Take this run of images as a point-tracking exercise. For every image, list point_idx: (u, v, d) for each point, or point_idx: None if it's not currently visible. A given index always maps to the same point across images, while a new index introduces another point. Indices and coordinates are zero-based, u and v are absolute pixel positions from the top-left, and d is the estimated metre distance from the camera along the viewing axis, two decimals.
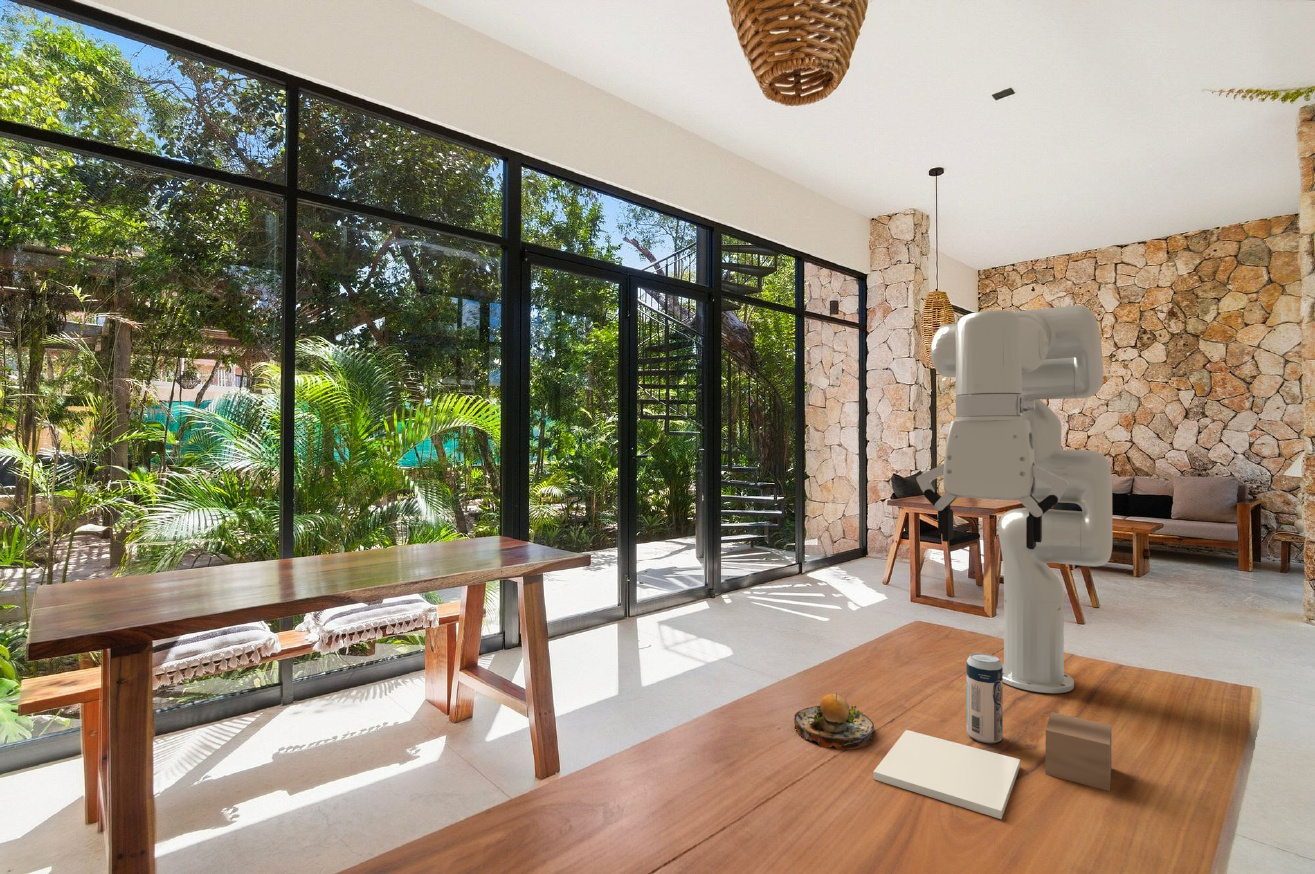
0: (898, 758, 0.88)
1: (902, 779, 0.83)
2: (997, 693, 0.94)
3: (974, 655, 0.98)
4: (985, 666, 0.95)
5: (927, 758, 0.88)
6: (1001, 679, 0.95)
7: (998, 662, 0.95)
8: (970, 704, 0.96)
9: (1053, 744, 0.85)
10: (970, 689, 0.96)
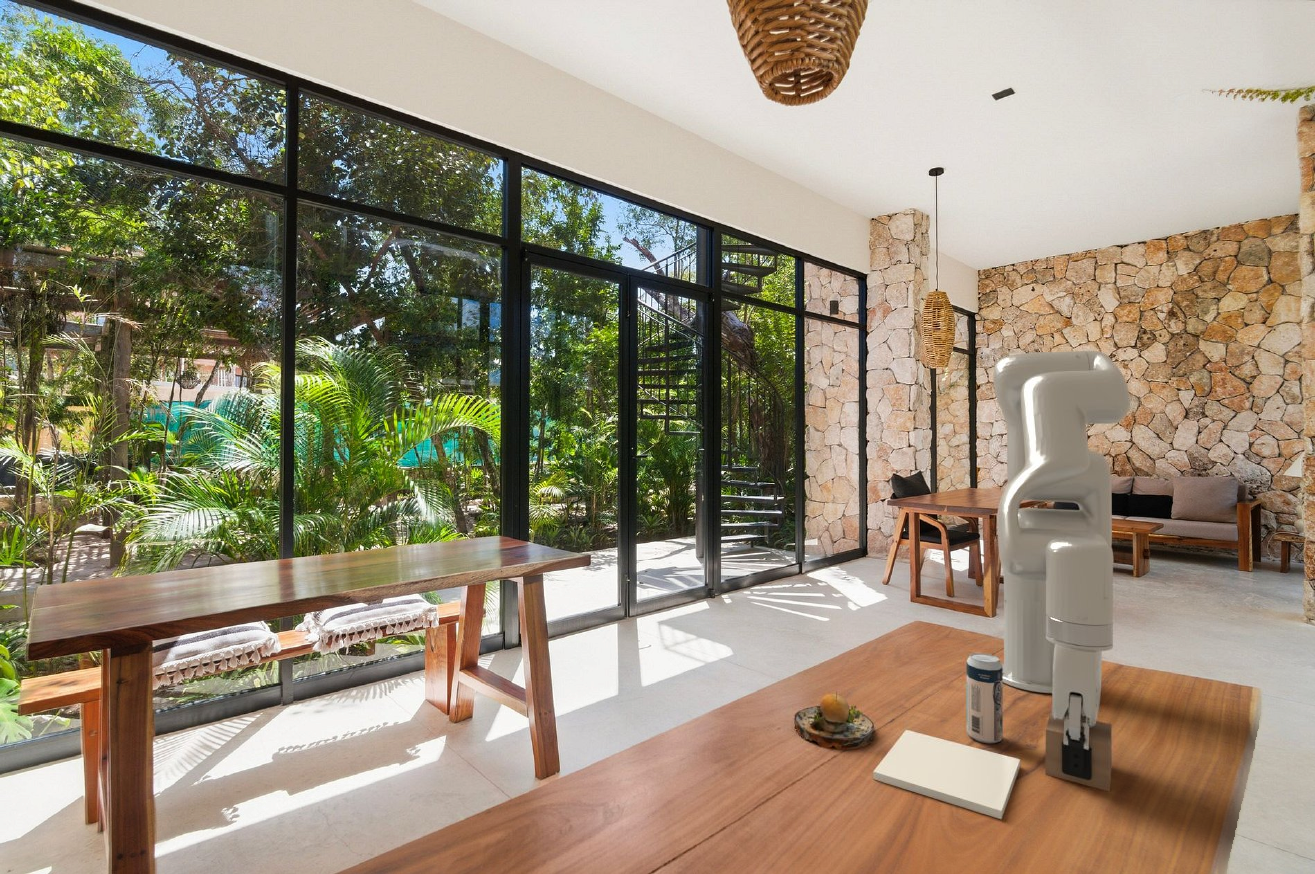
0: (898, 758, 0.88)
1: (902, 779, 0.83)
2: (997, 693, 0.94)
3: (974, 655, 0.98)
4: (985, 666, 0.94)
5: (927, 758, 0.88)
6: (1001, 679, 0.95)
7: (998, 662, 0.95)
8: (970, 704, 0.96)
9: (1053, 743, 0.85)
10: (970, 689, 0.96)
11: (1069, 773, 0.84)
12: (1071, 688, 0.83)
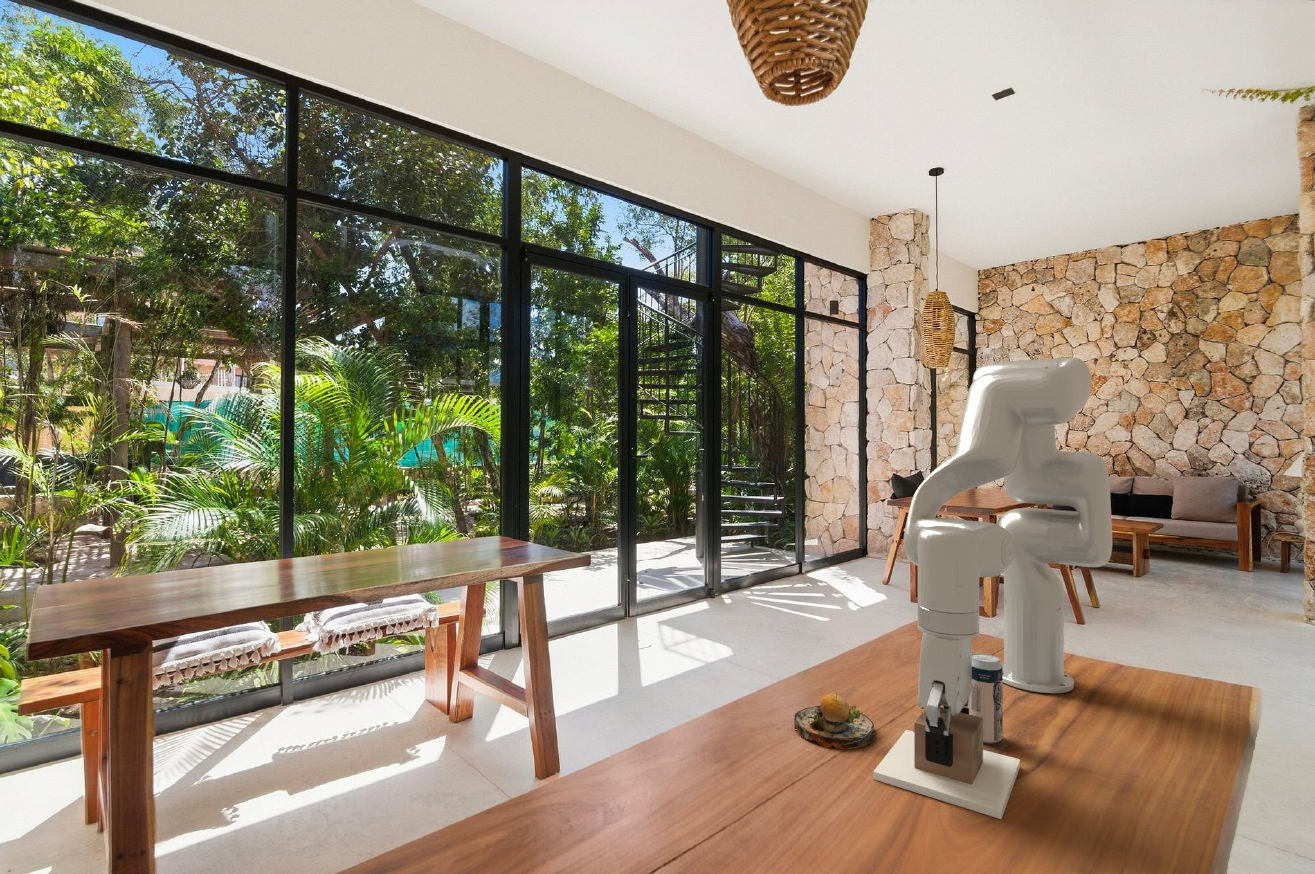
0: (898, 758, 0.88)
1: (902, 779, 0.83)
2: (997, 693, 0.94)
3: (974, 655, 0.98)
4: (985, 666, 0.94)
5: None
6: (1001, 679, 0.95)
7: (998, 662, 0.95)
8: (970, 704, 0.96)
9: (921, 737, 0.85)
10: None
11: (932, 760, 0.83)
12: (935, 674, 0.83)
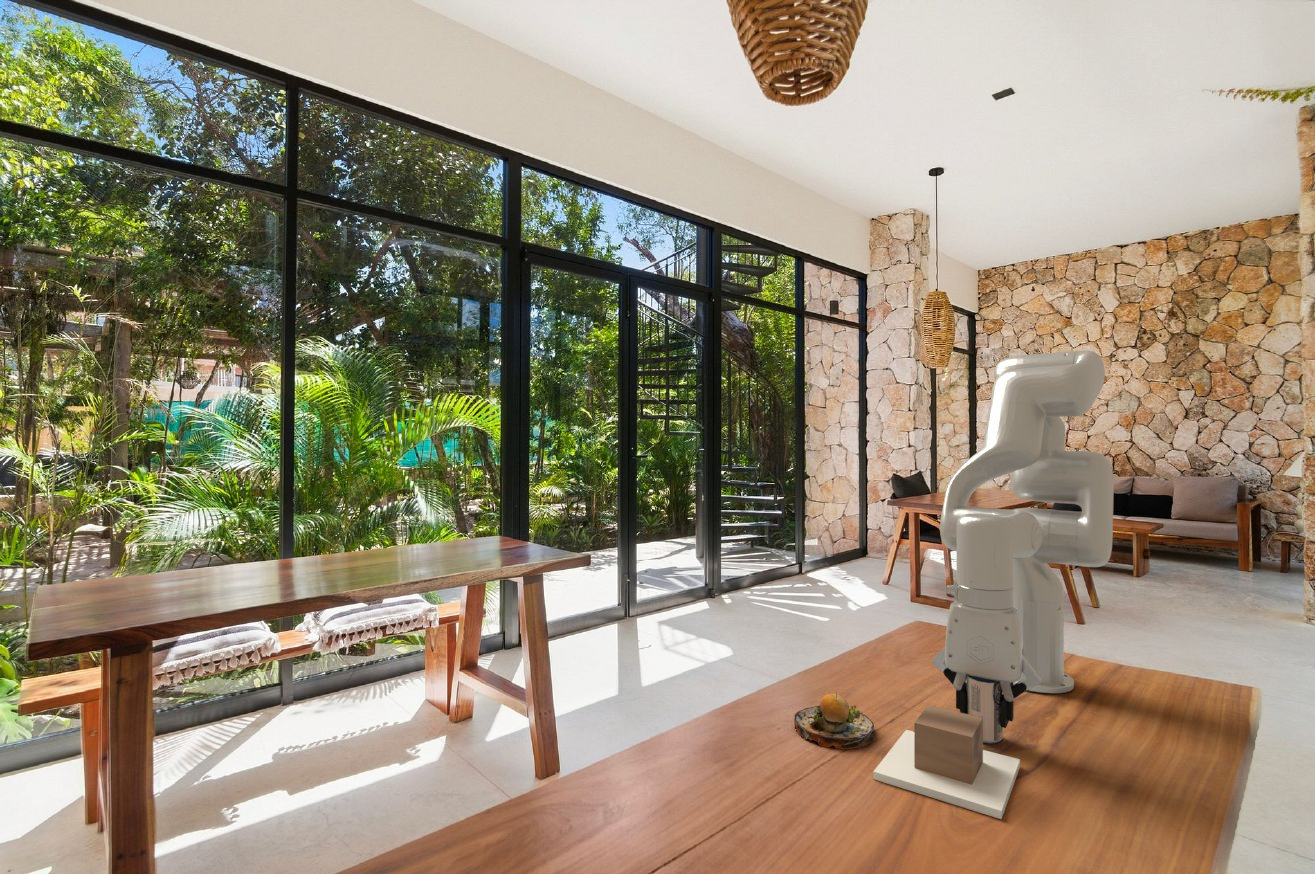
0: (898, 758, 0.88)
1: (902, 779, 0.83)
2: (997, 693, 0.94)
3: None
4: None
5: None
6: None
7: None
8: (970, 704, 0.96)
9: (921, 737, 0.85)
10: (970, 689, 0.96)
11: (1006, 725, 0.94)
12: (1022, 648, 0.93)
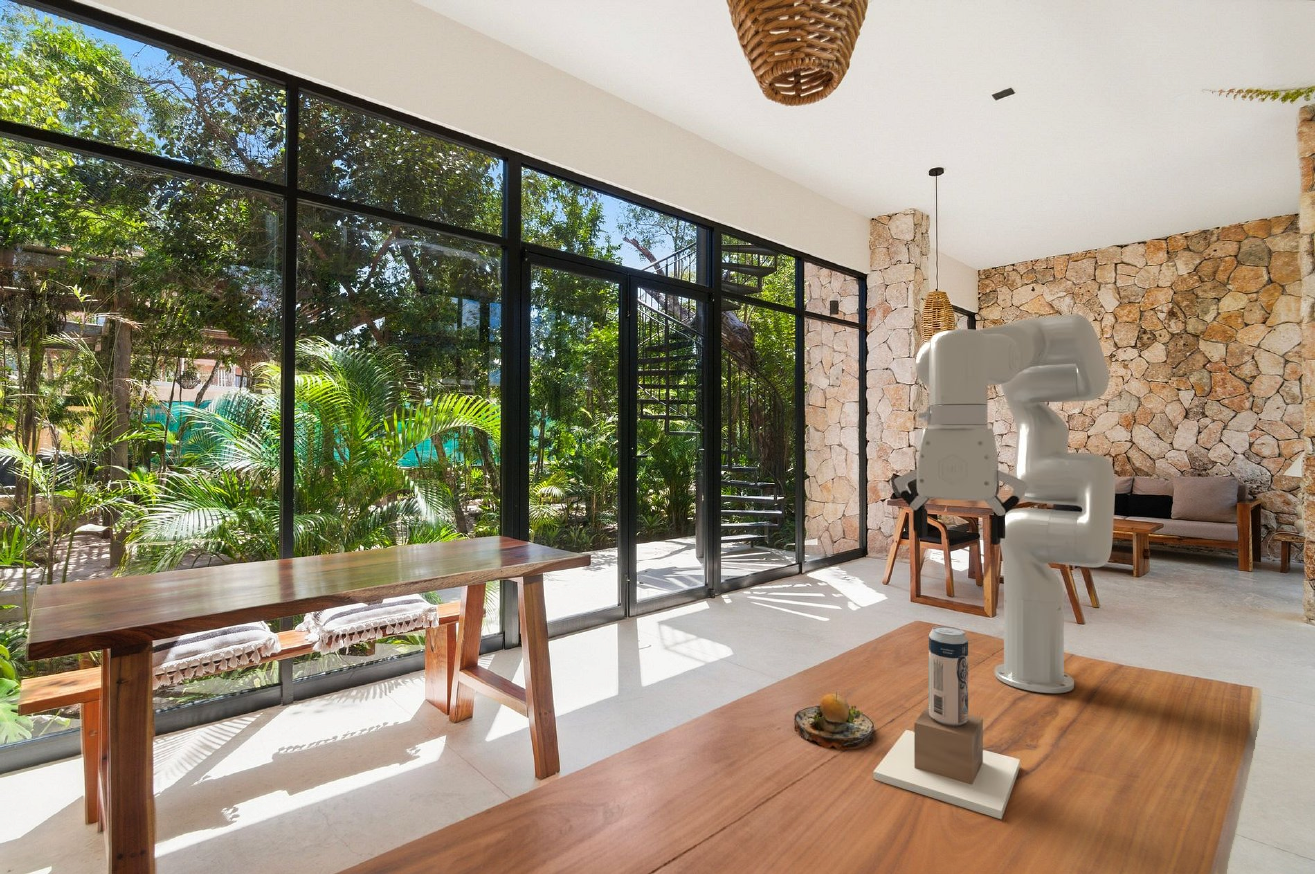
0: (898, 758, 0.88)
1: (902, 779, 0.83)
2: (962, 670, 0.84)
3: (937, 628, 0.88)
4: (949, 639, 0.85)
5: None
6: (966, 654, 0.85)
7: (963, 635, 0.85)
8: (932, 682, 0.86)
9: (921, 736, 0.85)
10: (932, 666, 0.86)
11: (997, 543, 0.87)
12: None
